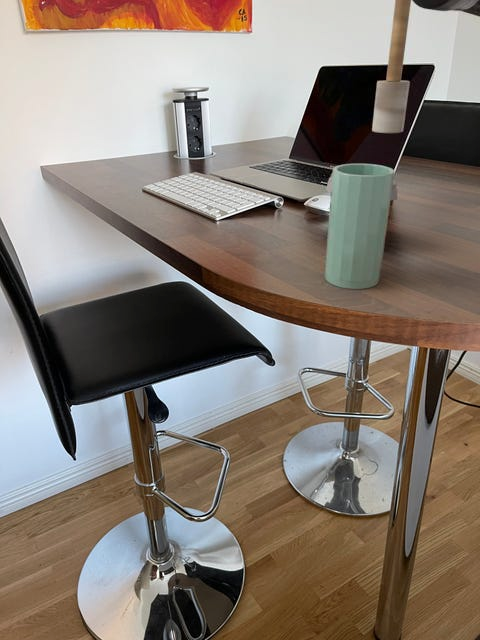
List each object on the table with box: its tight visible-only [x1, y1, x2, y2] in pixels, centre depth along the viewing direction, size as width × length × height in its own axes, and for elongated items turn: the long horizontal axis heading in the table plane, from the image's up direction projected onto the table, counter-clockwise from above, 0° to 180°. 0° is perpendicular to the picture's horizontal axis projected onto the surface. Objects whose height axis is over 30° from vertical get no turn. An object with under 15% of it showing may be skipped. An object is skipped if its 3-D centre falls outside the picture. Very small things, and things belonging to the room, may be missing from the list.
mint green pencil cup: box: [324, 163, 395, 290], centre depth 62 cm, size 7×7×14 cm
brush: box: [371, 0, 412, 134], centre depth 62 cm, size 4×4×20 cm
